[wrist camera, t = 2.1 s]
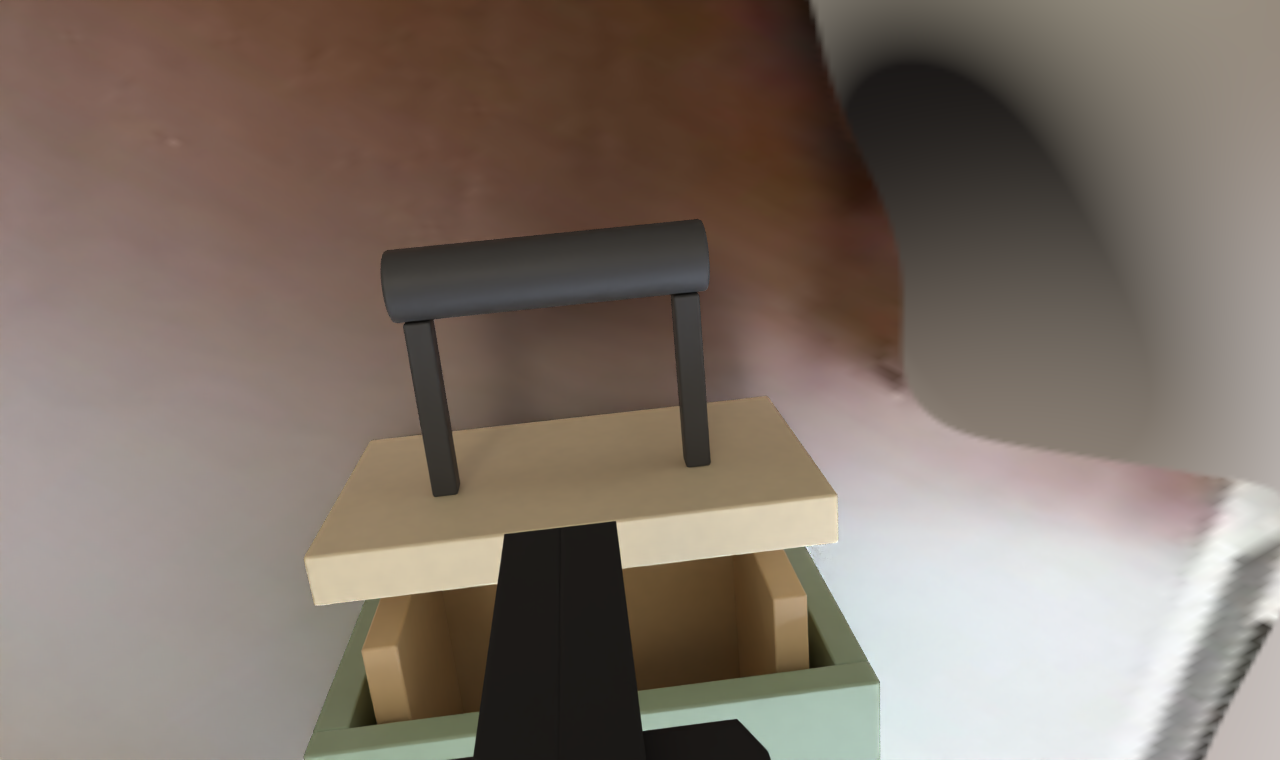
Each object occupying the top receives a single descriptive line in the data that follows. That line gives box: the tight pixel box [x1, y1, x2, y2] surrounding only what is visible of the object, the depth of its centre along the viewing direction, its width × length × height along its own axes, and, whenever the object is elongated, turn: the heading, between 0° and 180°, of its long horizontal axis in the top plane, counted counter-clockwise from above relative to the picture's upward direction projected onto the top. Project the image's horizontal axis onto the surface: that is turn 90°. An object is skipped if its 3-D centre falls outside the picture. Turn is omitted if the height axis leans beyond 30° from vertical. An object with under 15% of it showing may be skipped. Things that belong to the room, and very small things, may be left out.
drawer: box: [304, 219, 838, 725], centre depth 23 cm, size 19×11×7 cm, turn 5°
